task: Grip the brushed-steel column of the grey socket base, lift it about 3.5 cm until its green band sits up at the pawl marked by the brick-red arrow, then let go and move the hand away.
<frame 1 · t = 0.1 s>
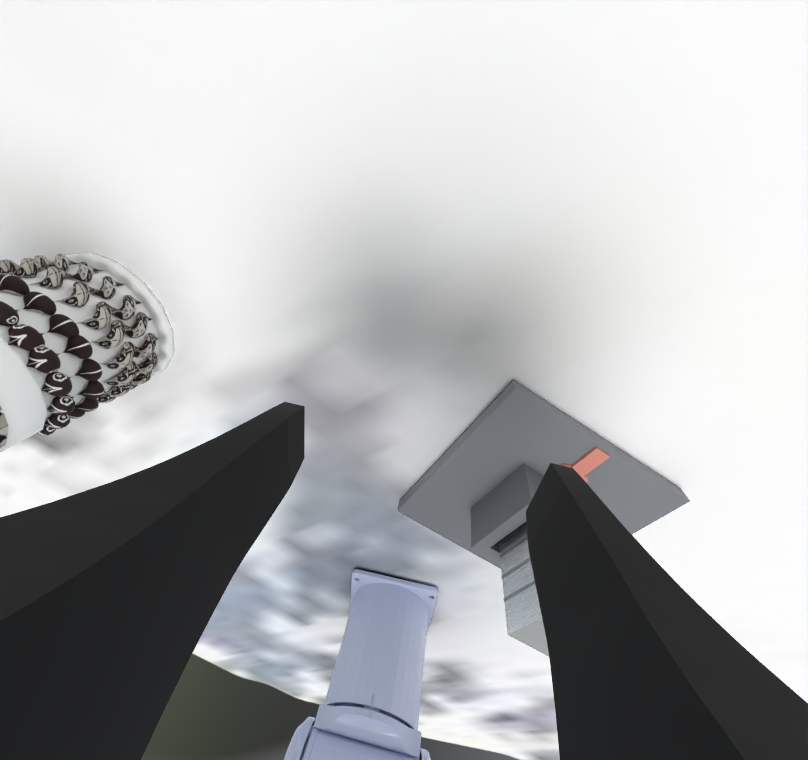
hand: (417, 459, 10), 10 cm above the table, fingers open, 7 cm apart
grey socket base: (525, 494, 23), on the table
decorative candle: (117, 320, 22), on the table
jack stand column: (539, 562, 18), point 5 cm above the table, slide at 0.0 cm
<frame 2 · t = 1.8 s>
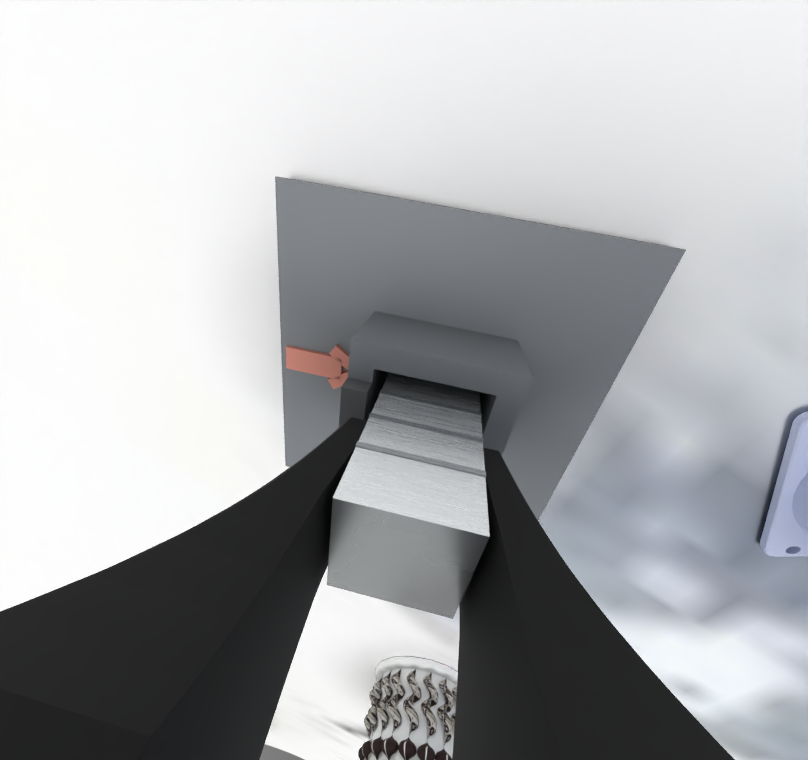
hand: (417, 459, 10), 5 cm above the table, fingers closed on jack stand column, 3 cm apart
grey socket base: (433, 376, 14), on the table
decorative candle: (423, 678, 29), on the table
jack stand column: (419, 449, 10), point 5 cm above the table, slide at 0.0 cm, touching gripper
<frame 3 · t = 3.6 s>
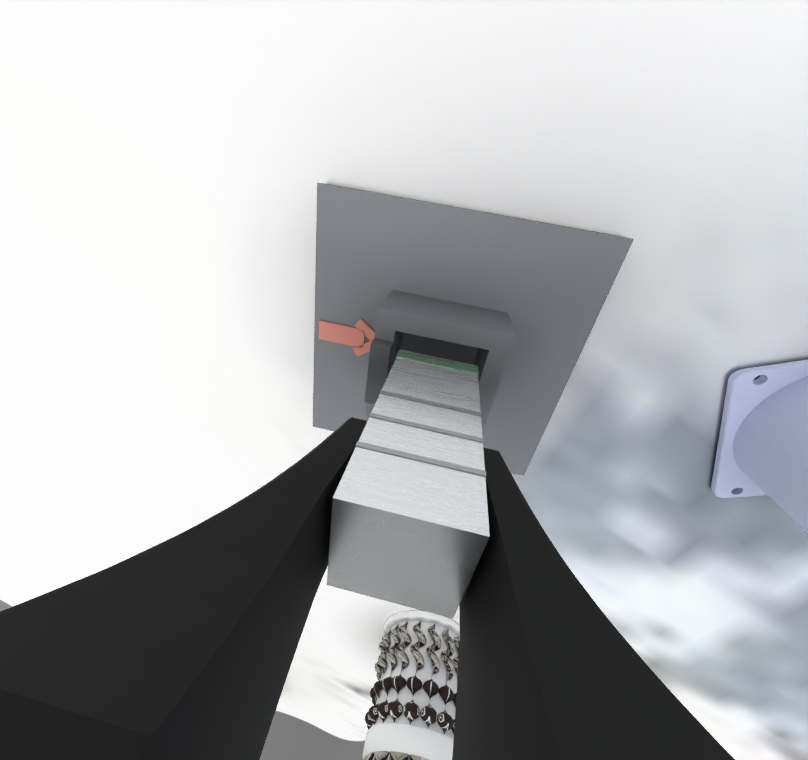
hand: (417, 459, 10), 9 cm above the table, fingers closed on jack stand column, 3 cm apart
grey socket base: (439, 346, 17), on the table
decorative candle: (427, 632, 32), on the table
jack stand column: (419, 449, 10), point 8 cm above the table, slide at 3.5 cm, touching gripper
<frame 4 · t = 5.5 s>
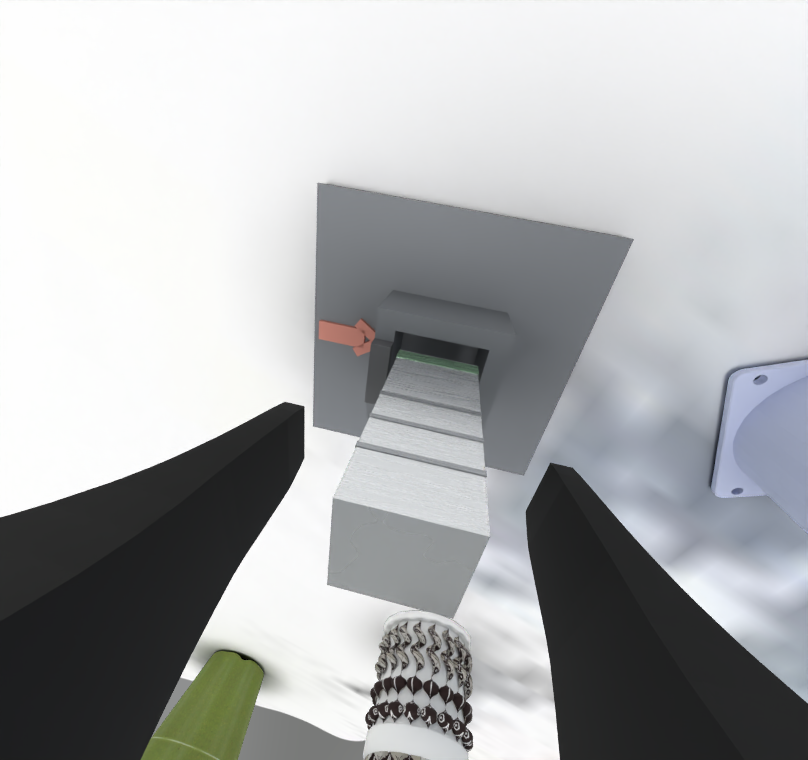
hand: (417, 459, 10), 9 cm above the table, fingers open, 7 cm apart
plant pot: (239, 661, 43), on the table
grey socket base: (439, 346, 17), on the table
decorative candle: (427, 632, 32), on the table
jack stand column: (419, 449, 10), point 8 cm above the table, slide at 3.5 cm
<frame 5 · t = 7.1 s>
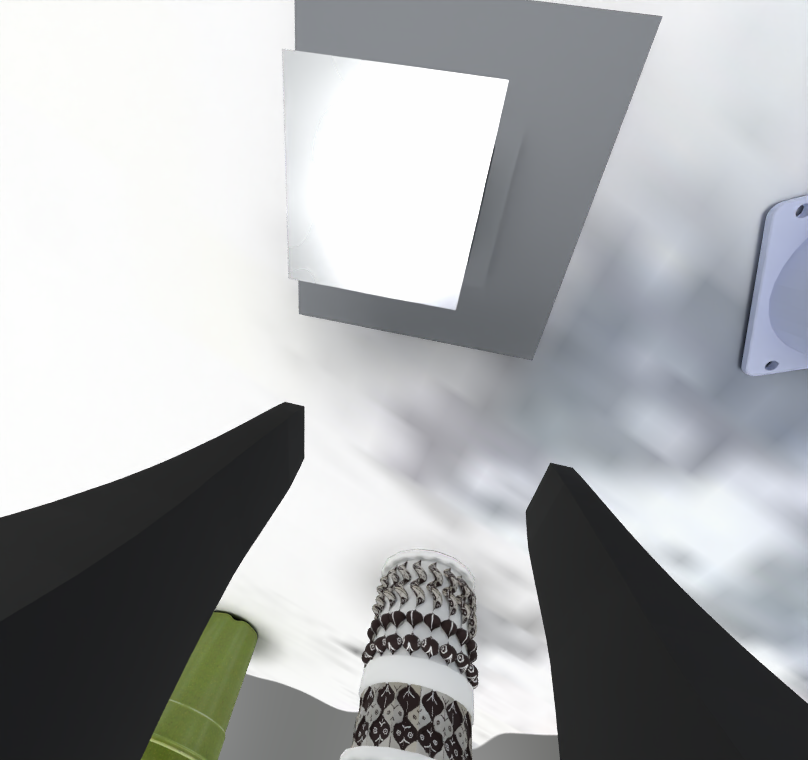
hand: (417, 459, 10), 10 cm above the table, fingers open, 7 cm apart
plant pot: (231, 624, 41), on the table
grey socket base: (437, 202, 15), on the table
decorative candle: (428, 577, 30), on the table
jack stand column: (412, 199, 8), point 8 cm above the table, slide at 3.5 cm
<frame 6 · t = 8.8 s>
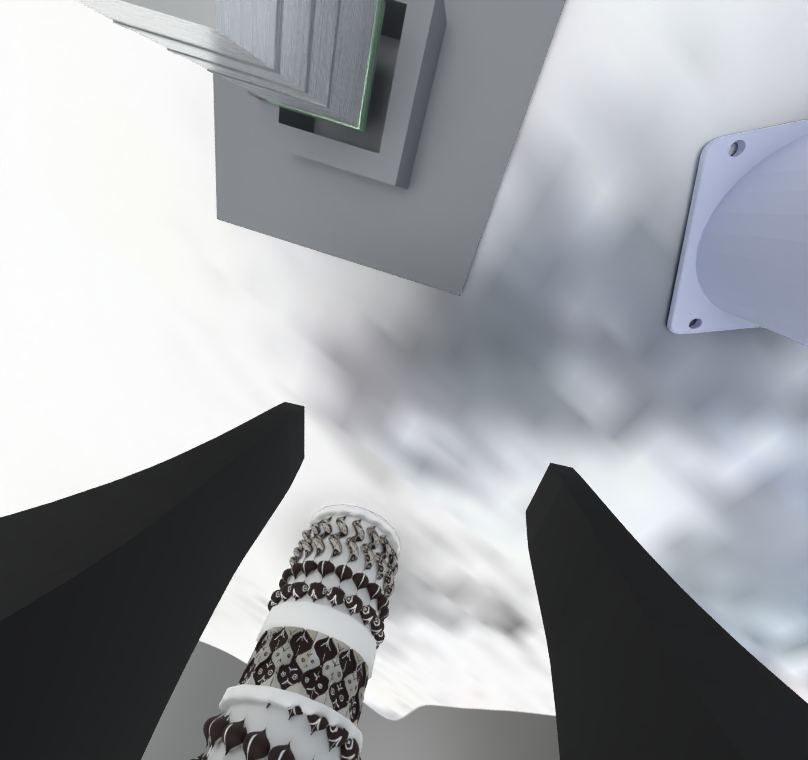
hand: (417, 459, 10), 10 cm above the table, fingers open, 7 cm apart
grey socket base: (368, 101, 14), on the table
decorative candle: (355, 536, 29), on the table
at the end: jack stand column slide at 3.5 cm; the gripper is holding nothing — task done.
